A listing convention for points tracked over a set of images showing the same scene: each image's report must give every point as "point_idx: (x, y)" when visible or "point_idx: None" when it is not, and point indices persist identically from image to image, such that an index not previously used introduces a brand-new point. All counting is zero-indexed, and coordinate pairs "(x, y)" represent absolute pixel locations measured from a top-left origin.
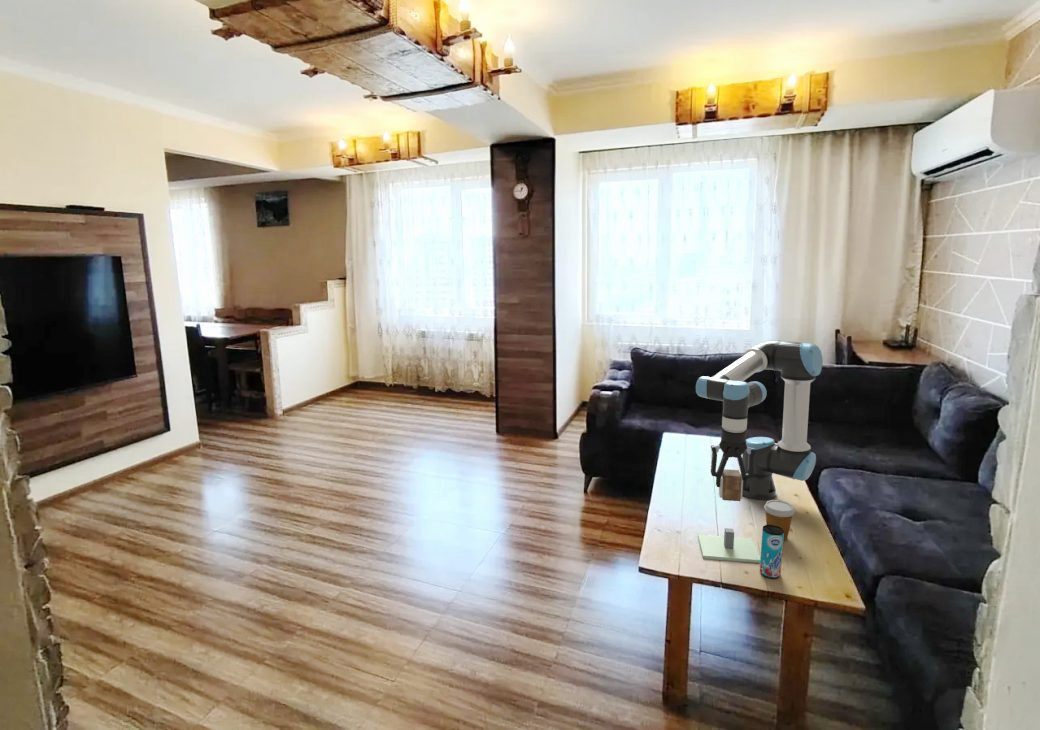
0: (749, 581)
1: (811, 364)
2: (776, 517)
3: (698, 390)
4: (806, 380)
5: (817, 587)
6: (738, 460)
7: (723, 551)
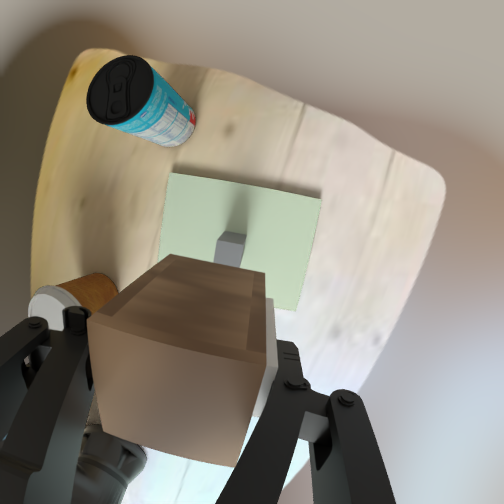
0: (237, 92)
1: None
2: (73, 294)
3: None
4: None
5: None
6: (40, 478)
7: (257, 218)
